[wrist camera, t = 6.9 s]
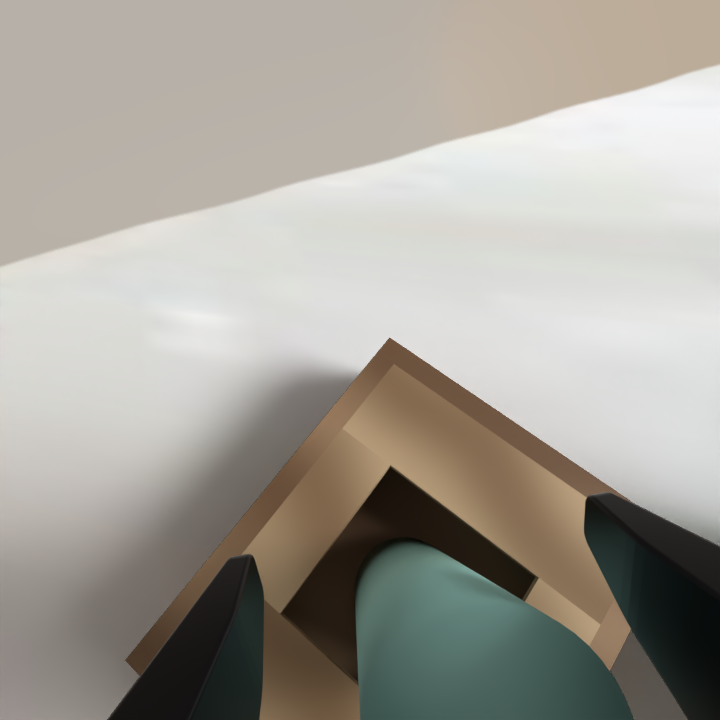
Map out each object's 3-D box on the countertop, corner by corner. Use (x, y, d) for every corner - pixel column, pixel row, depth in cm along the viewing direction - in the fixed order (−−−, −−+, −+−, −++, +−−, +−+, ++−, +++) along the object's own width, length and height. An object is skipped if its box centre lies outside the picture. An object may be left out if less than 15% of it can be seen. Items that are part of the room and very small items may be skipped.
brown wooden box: (425, 888, 17) (442, 997, 12) (178, 639, 20) (125, 660, 16) (618, 539, 21) (679, 534, 16) (387, 376, 24) (389, 337, 19)
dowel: (416, 670, 19) (548, 1019, 6) (333, 600, 19) (303, 790, 7) (475, 580, 20) (693, 726, 7) (394, 516, 20) (465, 547, 8)
